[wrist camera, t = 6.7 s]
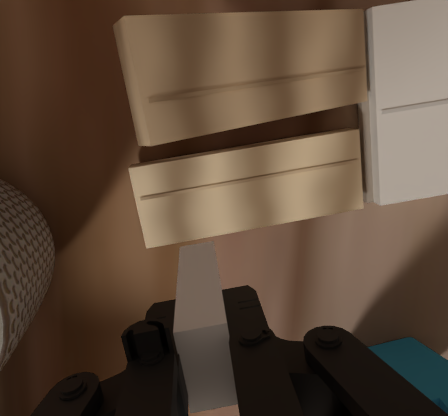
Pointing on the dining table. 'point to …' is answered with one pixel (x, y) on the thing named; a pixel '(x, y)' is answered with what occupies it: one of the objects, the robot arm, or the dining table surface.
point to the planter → (21, 265)
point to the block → (417, 367)
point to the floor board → (405, 102)
